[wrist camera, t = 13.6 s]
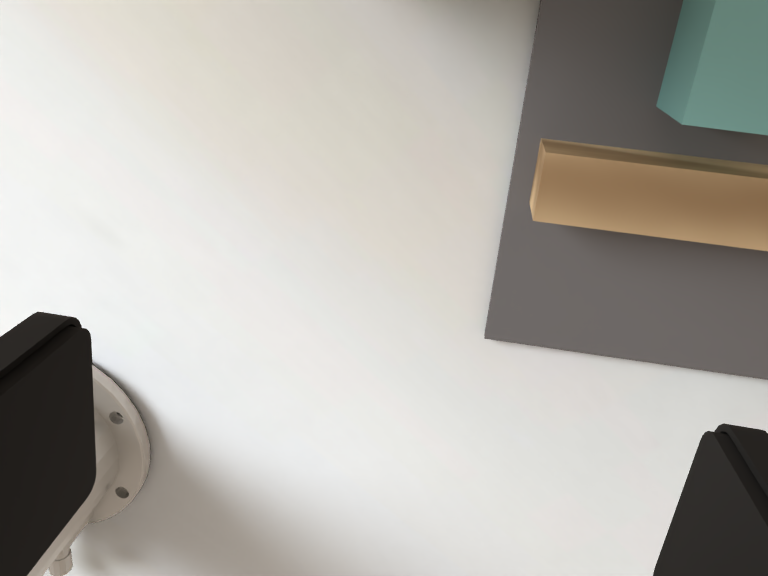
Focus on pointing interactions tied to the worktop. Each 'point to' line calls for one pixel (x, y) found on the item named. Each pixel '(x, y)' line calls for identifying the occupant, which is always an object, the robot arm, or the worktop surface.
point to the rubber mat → (617, 249)
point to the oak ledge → (651, 194)
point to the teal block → (719, 66)
